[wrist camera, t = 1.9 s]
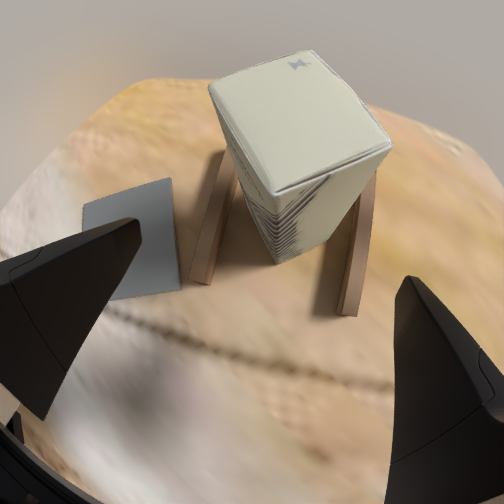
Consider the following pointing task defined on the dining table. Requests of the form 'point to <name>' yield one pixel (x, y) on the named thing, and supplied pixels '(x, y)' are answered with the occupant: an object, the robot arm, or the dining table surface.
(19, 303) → the robot arm
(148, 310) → the dining table surface
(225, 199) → the cradle
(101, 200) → the coaster
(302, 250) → the box
